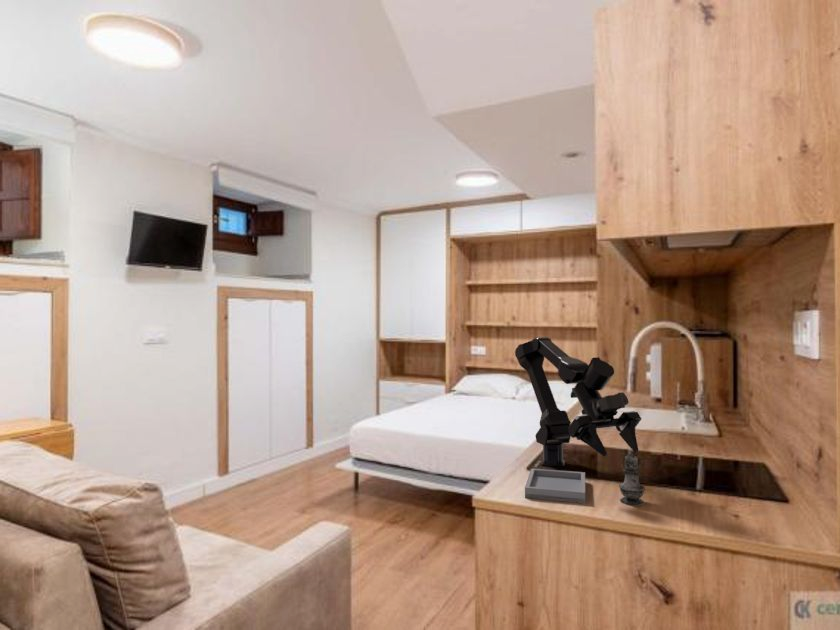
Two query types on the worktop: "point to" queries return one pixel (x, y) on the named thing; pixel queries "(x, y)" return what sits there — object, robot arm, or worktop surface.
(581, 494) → the grey tray
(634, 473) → the grey tall rounded piece
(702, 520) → the worktop surface
